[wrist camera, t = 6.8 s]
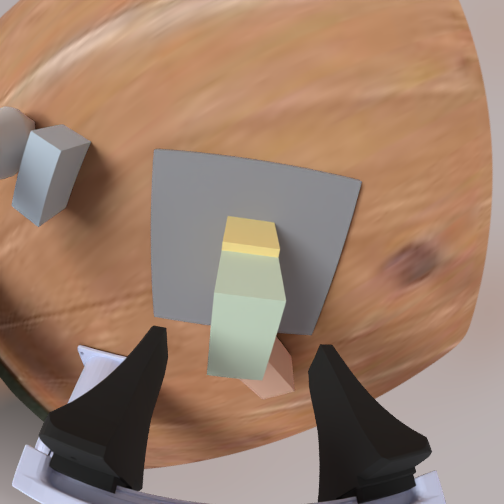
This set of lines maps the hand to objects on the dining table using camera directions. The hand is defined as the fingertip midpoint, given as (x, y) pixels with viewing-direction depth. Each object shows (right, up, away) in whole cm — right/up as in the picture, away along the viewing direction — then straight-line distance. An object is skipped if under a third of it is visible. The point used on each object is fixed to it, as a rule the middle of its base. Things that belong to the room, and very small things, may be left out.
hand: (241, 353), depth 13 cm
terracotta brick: (+2, -4, +12) cm, 13 cm away
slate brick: (-14, +11, +5) cm, 19 cm away
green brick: (0, +2, +5) cm, 5 cm away
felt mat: (0, +4, +8) cm, 10 cm away
